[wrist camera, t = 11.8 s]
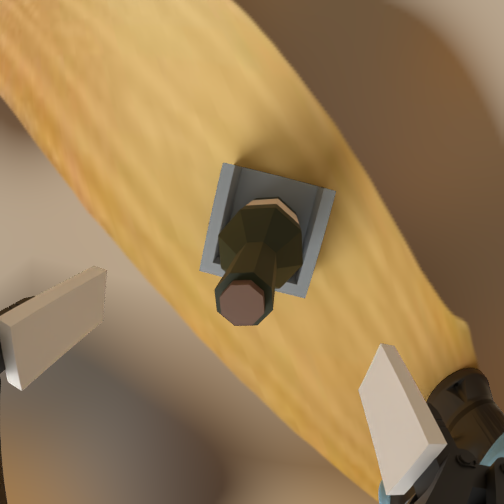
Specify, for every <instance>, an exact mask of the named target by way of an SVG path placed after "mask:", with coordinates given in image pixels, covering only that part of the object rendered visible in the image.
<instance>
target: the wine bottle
mask: <svg viewBox="0 0 504 504" xmlns="http://www.w3.org/2000/svg"><path fill="white" fill-rule="evenodd" d="M218 241H219V252H220V263H221V269H222V270H224V271H225V274H224V275H223V277H222V279H221V280H220V282H219V283H218V285H217V287H216V288H215V298H216V306H217V312H219V313H220V314H221V315H222V316H223V317H225V318H226V319H227V320H228V321H229V322H231V323H232V324H233V325H234V326H247V325H258V324H259V323H260V322H261V321H262V320H263V319H264V318H265V317H266V316H267V315H268V314H269V313H270V312H271V311H272V310H273V303H274V292H275V289H280V288H281V287H282V286H283V285H284V284H285V283H286V282H287V281H288V280H289V279H290V278H291V277H292V276H293V275H294V273H295V272H296V271H297V270H298V269H299V268H300V267H301V266H302V265H303V257H302V231H301V228H300V225H299V222H298V219H297V215H296V212H295V211H294V210H293V209H292V208H291V207H289V206H288V205H287V204H286V203H285V202H284V201H283V200H282V199H280V198H279V197H266V198H255V199H254V200H253V201H251V202H250V203H248V204H247V205H246V206H244V207H243V208H241V209H240V210H239V211H238V212H237V214H236V215H235V216H234V217H233V218H232V219H231V221H230V222H229V223H228V224H227V225H226V226H225V228H224V229H223V230H222V231H221V232H220V233H219V235H218Z"/></svg>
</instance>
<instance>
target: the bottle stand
mask: <svg viewBox="0 0 504 504" xmlns="http://www.w3.org/2000/svg"><path fill="white" fill-rule="evenodd" d="M335 193H336V191H333V190H330V189H326V188H323V187H319V186H315V185H311V184H308V183H304V182H300V181H296V180H293V179H289V178H285V177H281V176H277V175H273V174H269V173H265V172H261V171H257V170H253V169H248V168H244V167H240V166H236V165H232V164H227V163H223V165H222V169H221V173H220V177H219V182H218V186H217V190H216V195H215V199H214V204H213V208H212V213H211V217H210V222H209V226H208V231H207V236H206V241H205V245H204V250H203V255H202V260H201V265H200V270H199V271H202V272H206V273H210V274H213V275H217V276H221V277H223V275H224V274H225V271H224V270H222V269H221V263H220V252H219V241H218V235H219V233H220V232H221V231H222V230H223V229H224V228H225V226H226V225H227V224H228V223H229V222H230V221H231V219H232V218H233V217H234V216H235V215H236V214H237V212H238V211H239V210H240V209H241V208H243V207H244V206H246V205H247V204H248V203H250V202H251V201H253V200H254V199H255V198H266V197H279V198H280V199H282V200H283V201H284V202H285V203H286V204H287V205H288V206H289V207H291V208H292V209H293V210H294V211H295V212H296V215H297V219H298V222H299V225H300V228H301V231H302V257H303V265H302V266H301V267H300V268H299V269H298V270H297V271H296V272H295V273H294V275H293V276H292V277H291V278H290V279H289V280H288V281H287V282H286V283H285V284H284V285H283V286H282V287H281V288H280V289H275V291H278V292H282V293H286V294H290V295H294V296H298V297H302V298H305V297H306V294H307V290H308V287H309V284H310V281H311V278H312V274H313V271H314V268H315V264H316V261H317V258H318V254H319V251H320V247H321V244H322V241H323V237H324V234H325V230H326V227H327V223H328V219H329V216H330V212H331V208H332V205H333V201H334V197H335Z"/></svg>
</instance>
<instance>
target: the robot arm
mask: <svg viewBox="0 0 504 504" xmlns="http://www.w3.org/2000/svg"><path fill="white" fill-rule="evenodd" d="M106 276H107V270H105V269H102V268H99V267H96V266H93V267H91V268H89V269H87V270H85V271H83V272H81V273H79V274H77V275H75V276H73V277H72V278H69V279H68V280H65V281H64V282H62V283H60V284H58V285H56V286H54V287H52V288H51V289H48V290H46V291H45V292H43V293H41V294H39V295H37V296H32V297H28V298H24V299H22V300H20V301H18V302H16V303H15V304H13V305H11V306H9V308H8V307H7V308H5V309H3V310H1V311H0V373H1V372H3V371H4V370H5V371H6V375H7V380H8V382H9V383H11V384H12V385H13V386H15V387H17V388H18V389H20V390H21V391H22V390H23V389H24V388H26V387H27V386H28V385H29V384H30V383H31V382H32V381H34V380H35V379H36V378H37V377H38V376H39V375H40V374H41V373H43V372H44V371H45V370H46V369H47V368H48V367H49V366H51V365H52V364H53V363H54V362H55V361H57V360H58V359H59V358H60V357H61V356H62V355H63V354H65V353H66V352H67V351H68V350H69V349H70V348H72V347H73V346H74V345H75V344H76V343H78V342H79V341H80V340H81V339H82V338H84V337H85V336H86V335H87V334H88V333H89V332H91V331H92V330H93V329H94V328H95V327H97V326H98V325H99V324H100V323H101V322H103V321H104V304H105V303H104V302H105V287H106ZM0 389H1V379H0ZM359 394H360V397H361V401H362V404H363V408H364V411H365V415H366V418H367V422H368V426H369V429H370V433H371V437H372V440H373V444H374V448H375V452H376V456H377V460H378V464H379V468H380V472H381V476H382V480H381V483H380V486H379V504H504V414H503V413H502V411H501V410H500V409H499V407H498V406H497V405H496V404H495V402H494V401H493V398H492V394H491V390H490V387H489V382H488V380H487V378H486V377H485V376H484V374H483V373H482V372H481V371H480V370H478V369H475V368H466V369H462V370H459V371H457V372H455V373H453V374H451V375H450V376H448V377H447V378H446V379H444V380H443V381H442V382H441V383H440V384H439V385H438V386H437V387H436V388H435V389H434V390H433V392H432V393H431V395H430V396H429V398H428V400H427V402H425V400H424V398H423V396H422V394H421V392H420V390H419V389H418V387H417V385H416V383H415V381H414V380H413V378H412V376H411V374H410V372H409V371H408V369H407V367H406V365H405V364H404V362H403V360H402V358H401V357H400V355H399V353H398V351H397V350H396V348H395V346H392V345H386V344H381V343H380V345H379V348H378V350H377V352H376V354H375V356H374V359H373V361H372V363H371V365H370V367H369V369H368V371H367V374H366V376H365V378H364V380H363V382H362V384H361V386H360V388H359ZM0 504H7V498H6V492H5V485H4V477H3V468H2V456H1V440H0Z"/></svg>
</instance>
